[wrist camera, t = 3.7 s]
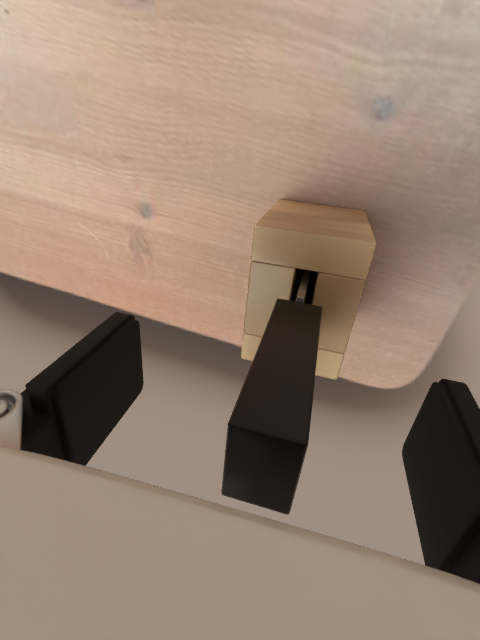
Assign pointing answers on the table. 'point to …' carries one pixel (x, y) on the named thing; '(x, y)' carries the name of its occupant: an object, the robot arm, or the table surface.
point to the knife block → (316, 255)
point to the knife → (275, 408)
